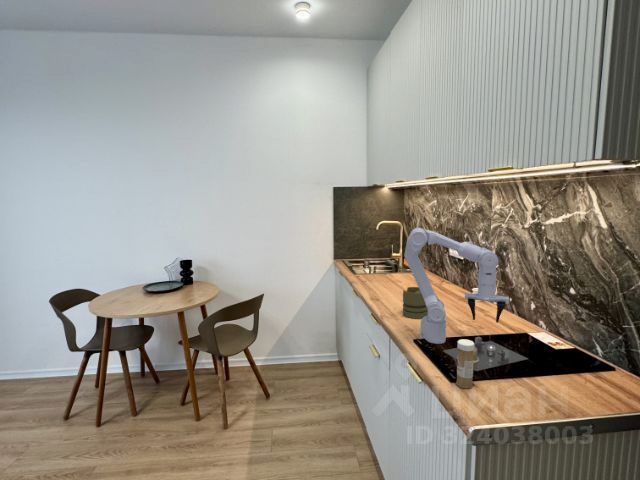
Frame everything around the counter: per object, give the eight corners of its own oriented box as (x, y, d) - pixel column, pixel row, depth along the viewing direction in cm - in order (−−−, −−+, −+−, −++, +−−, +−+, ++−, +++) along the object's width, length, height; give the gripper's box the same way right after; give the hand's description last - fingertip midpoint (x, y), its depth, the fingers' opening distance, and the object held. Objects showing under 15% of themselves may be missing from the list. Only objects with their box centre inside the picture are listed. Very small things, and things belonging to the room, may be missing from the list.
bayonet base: (442, 353, 129) (442, 341, 129) (490, 343, 137) (491, 332, 136) (475, 373, 114) (476, 360, 114) (528, 361, 122) (528, 349, 121)
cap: (460, 351, 128) (460, 341, 128) (477, 353, 126) (477, 344, 125) (457, 362, 120) (458, 351, 120) (476, 365, 118) (476, 354, 117)
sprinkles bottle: (453, 381, 110) (454, 339, 108) (468, 380, 110) (469, 338, 108) (460, 389, 105) (462, 345, 104) (475, 388, 106) (477, 344, 104)
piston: (399, 291, 166) (408, 285, 176) (399, 316, 168) (407, 309, 177) (423, 294, 160) (431, 288, 170) (423, 321, 162) (431, 313, 171)
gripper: (464, 284, 131) (463, 321, 132) (510, 288, 125) (508, 326, 126) (465, 280, 137) (464, 315, 139) (509, 283, 131) (507, 320, 133)
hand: (485, 320), depth 133 cm, fingers open, 7 cm apart
